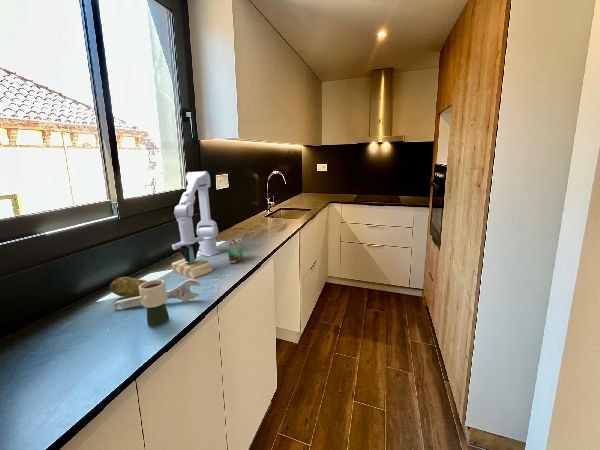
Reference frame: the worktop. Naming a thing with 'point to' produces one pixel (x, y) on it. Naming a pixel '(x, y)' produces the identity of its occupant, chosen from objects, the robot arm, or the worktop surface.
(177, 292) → the wrench
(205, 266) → the hole block
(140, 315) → the worktop surface
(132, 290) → the potato
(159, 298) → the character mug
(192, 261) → the peg
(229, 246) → the food container
